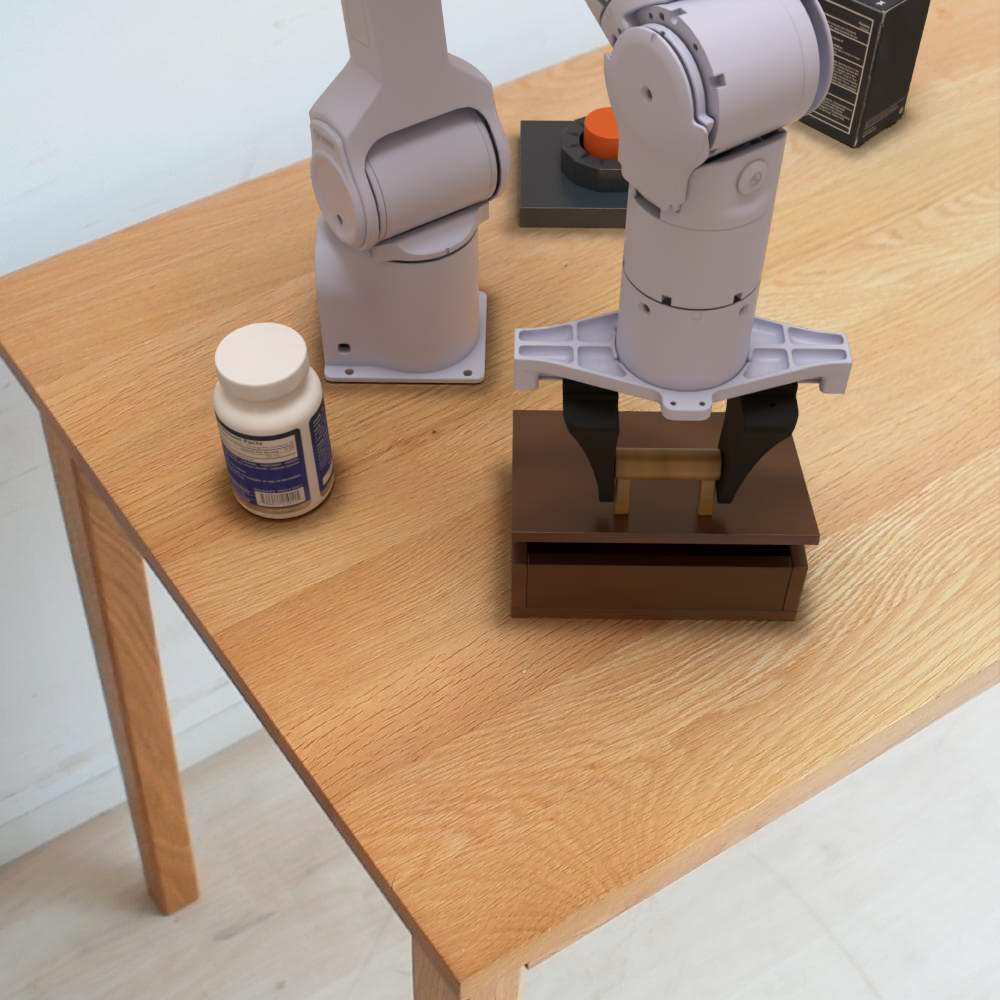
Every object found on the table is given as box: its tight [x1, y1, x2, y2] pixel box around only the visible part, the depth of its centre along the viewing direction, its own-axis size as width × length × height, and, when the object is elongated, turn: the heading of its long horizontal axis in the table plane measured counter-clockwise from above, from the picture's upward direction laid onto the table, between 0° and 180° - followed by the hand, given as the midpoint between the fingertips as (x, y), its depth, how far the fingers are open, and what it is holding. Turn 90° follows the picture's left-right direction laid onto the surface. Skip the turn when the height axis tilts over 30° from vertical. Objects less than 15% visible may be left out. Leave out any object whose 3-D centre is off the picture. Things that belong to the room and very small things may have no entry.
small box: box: [798, 0, 932, 148], centre depth 101 cm, size 11×6×10 cm, turn 44°
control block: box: [518, 115, 629, 229], centre depth 97 cm, size 12×10×4 cm
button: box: [583, 106, 619, 159], centre depth 96 cm, size 4×4×2 cm
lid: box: [510, 409, 821, 546], centre depth 72 cm, size 11×15×4 cm
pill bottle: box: [212, 322, 335, 520], centre depth 77 cm, size 6×6×10 cm
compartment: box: [510, 541, 809, 621], centre depth 76 cm, size 10×15×4 cm
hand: (663, 487), depth 69 cm, fingers closed on lid, 5 cm apart
